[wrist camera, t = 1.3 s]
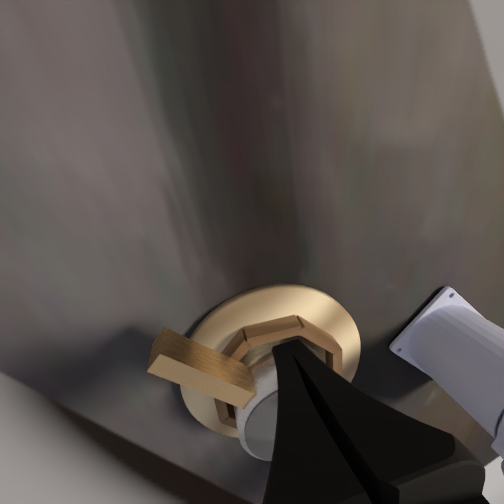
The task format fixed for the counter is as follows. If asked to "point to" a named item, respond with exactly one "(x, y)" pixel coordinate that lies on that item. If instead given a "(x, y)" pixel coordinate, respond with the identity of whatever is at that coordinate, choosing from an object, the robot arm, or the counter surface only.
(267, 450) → the milk pan
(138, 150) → the counter surface
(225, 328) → the board
